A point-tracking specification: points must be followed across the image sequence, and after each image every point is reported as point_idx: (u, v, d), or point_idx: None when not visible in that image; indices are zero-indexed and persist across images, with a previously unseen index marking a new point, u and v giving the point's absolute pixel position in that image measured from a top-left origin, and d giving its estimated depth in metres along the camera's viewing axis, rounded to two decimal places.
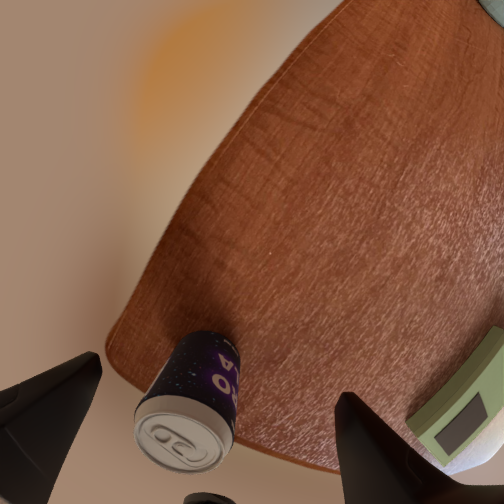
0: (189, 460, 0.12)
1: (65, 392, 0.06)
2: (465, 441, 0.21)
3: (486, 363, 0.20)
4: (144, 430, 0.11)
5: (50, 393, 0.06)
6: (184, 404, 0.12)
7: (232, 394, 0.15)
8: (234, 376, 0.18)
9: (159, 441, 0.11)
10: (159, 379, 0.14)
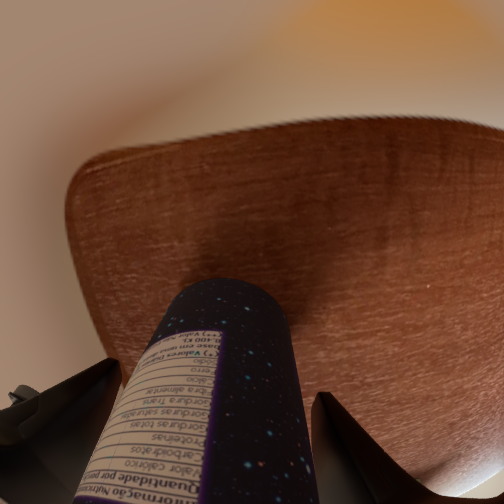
0: None
1: (87, 401, 0.06)
2: None
3: None
4: None
5: (73, 403, 0.06)
6: None
7: None
8: None
9: None
10: (228, 454, 0.04)
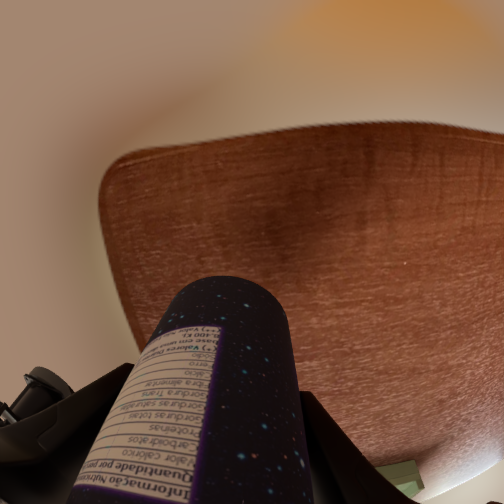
0: None
1: (107, 409, 0.06)
2: None
3: None
4: None
5: (94, 412, 0.06)
6: None
7: None
8: None
9: None
10: (222, 445, 0.04)
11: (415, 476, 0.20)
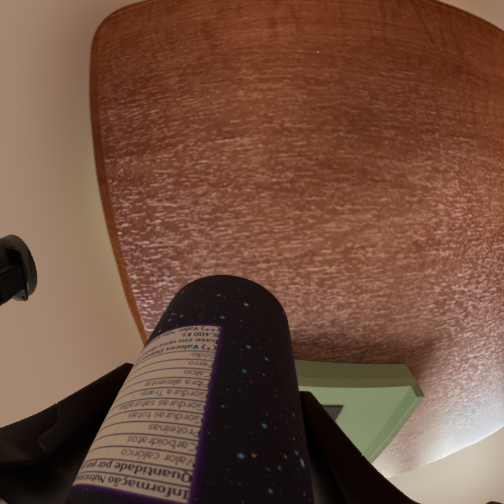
0: None
1: (107, 409, 0.06)
2: None
3: (376, 383, 0.21)
4: None
5: (94, 412, 0.06)
6: None
7: None
8: None
9: None
10: (222, 444, 0.04)
11: (409, 381, 0.21)
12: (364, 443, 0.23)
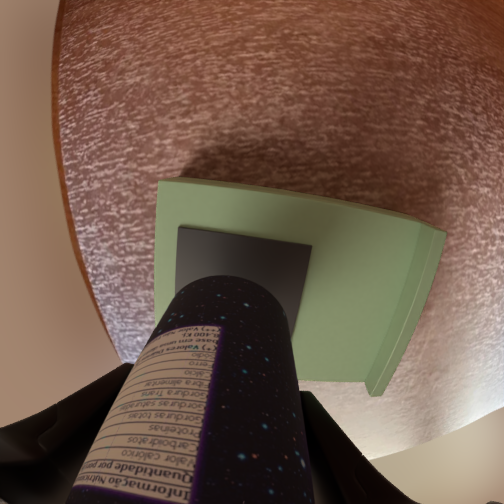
0: None
1: (107, 409, 0.06)
2: None
3: (362, 208, 0.15)
4: None
5: (94, 412, 0.06)
6: None
7: None
8: None
9: None
10: (222, 445, 0.04)
11: (418, 220, 0.15)
12: (365, 355, 0.17)
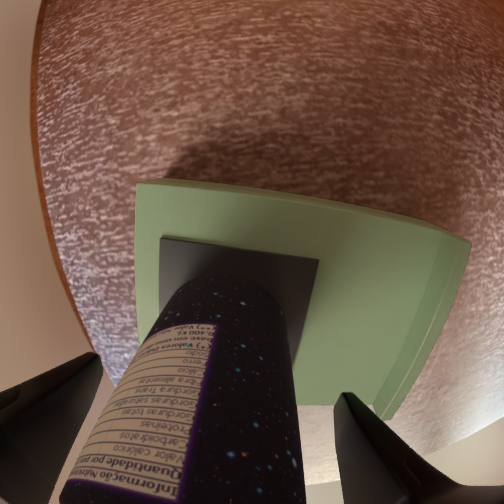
0: None
1: (66, 392, 0.06)
2: None
3: (378, 215, 0.12)
4: None
5: (51, 393, 0.06)
6: None
7: None
8: None
9: None
10: (212, 442, 0.04)
11: (438, 228, 0.12)
12: (375, 377, 0.15)
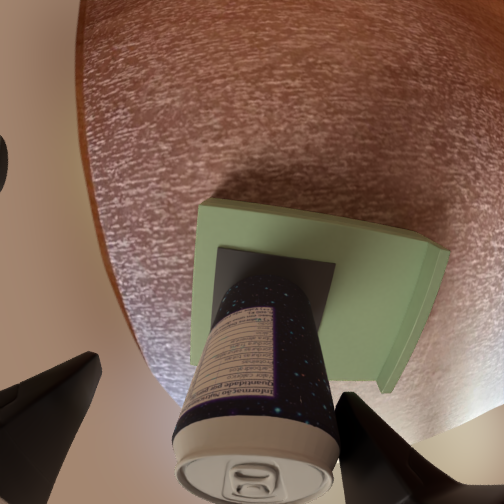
0: (233, 492, 0.07)
1: (65, 392, 0.06)
2: None
3: (378, 230, 0.16)
4: (232, 458, 0.06)
5: (50, 393, 0.06)
6: (331, 451, 0.06)
7: None
8: None
9: (235, 475, 0.06)
10: (285, 368, 0.08)
11: (425, 239, 0.17)
12: (377, 356, 0.19)
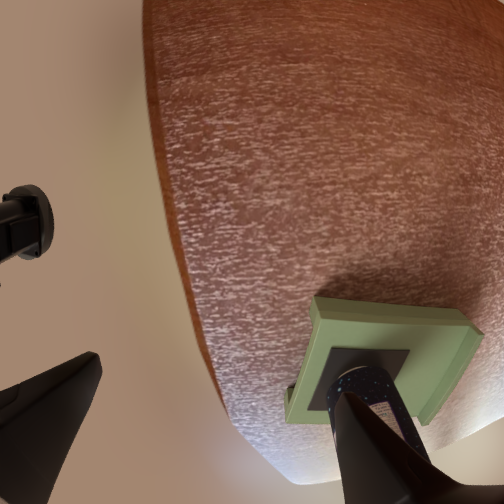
0: None
1: (65, 392, 0.06)
2: None
3: (440, 322, 0.19)
4: None
5: (50, 393, 0.06)
6: None
7: None
8: None
9: None
10: (412, 445, 0.11)
11: (467, 322, 0.19)
12: (421, 401, 0.21)
